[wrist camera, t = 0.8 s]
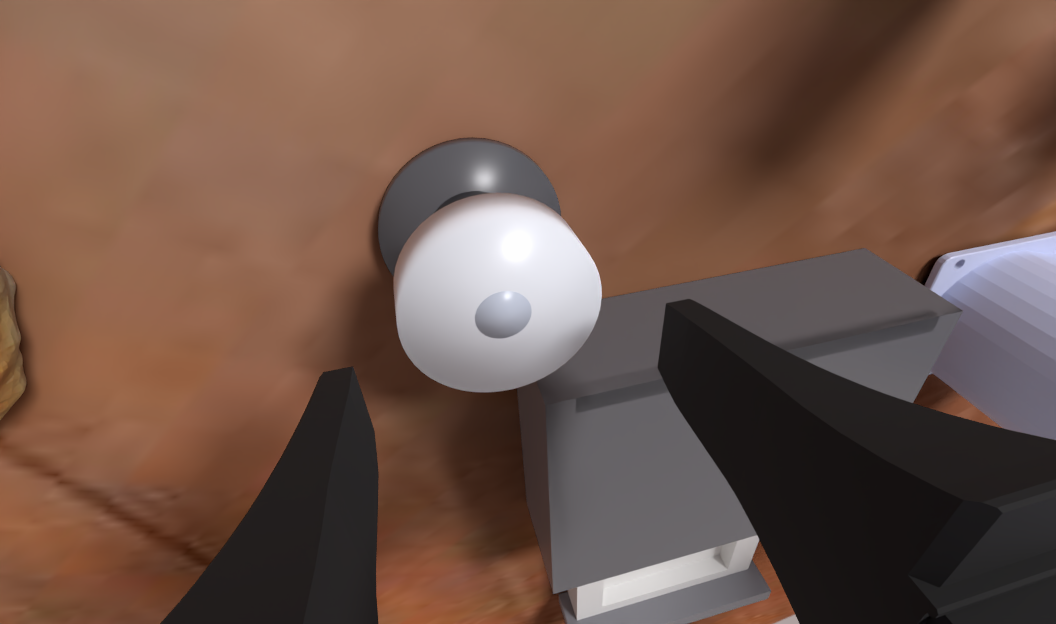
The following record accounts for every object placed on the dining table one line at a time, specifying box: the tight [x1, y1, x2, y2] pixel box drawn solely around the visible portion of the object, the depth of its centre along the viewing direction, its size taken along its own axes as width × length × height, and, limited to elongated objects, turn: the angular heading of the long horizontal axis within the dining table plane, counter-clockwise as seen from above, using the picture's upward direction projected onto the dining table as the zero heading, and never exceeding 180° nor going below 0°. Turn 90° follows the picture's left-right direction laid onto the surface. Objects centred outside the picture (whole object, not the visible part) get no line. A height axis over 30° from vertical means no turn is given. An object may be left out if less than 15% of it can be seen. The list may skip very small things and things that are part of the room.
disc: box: [393, 193, 602, 392], centre depth 14 cm, size 5×5×2 cm
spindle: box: [378, 138, 561, 277], centre depth 16 cm, size 6×6×4 cm
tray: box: [559, 535, 771, 624], centre depth 31 cm, size 11×13×3 cm
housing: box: [517, 248, 963, 594], centre depth 23 cm, size 12×16×5 cm
